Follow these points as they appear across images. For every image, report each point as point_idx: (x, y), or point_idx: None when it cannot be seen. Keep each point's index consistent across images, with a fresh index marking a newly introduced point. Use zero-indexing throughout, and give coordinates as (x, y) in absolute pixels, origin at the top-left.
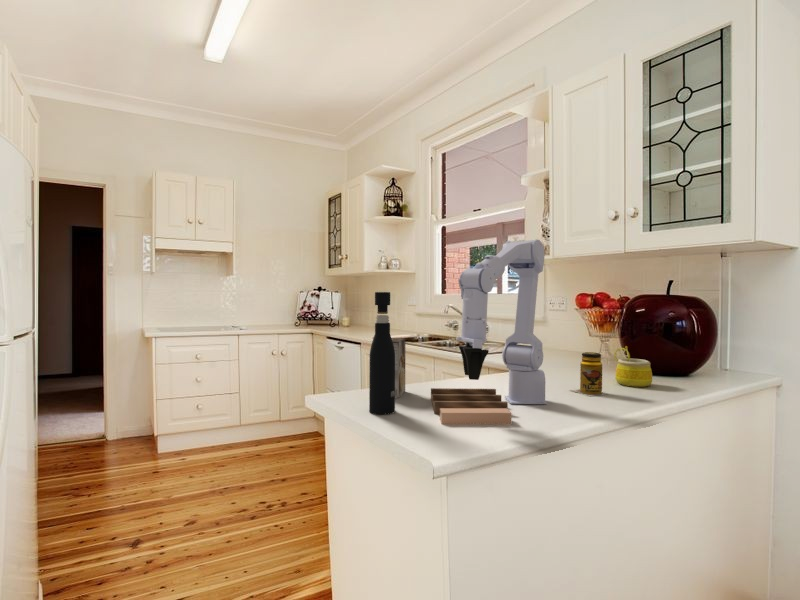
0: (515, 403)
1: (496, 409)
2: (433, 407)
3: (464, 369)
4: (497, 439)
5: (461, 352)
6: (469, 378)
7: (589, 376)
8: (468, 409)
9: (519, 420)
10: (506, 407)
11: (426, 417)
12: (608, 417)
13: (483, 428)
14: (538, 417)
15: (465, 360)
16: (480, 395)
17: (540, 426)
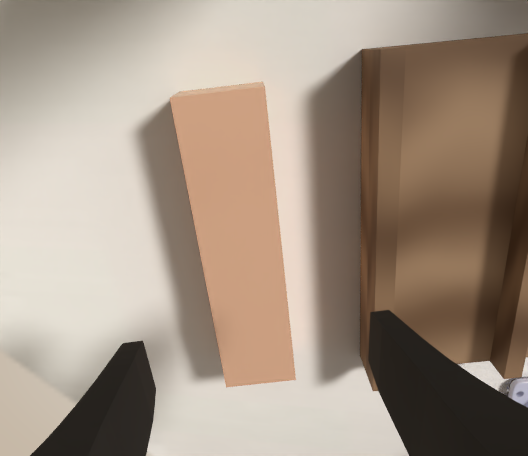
0: (509, 395)
1: (273, 342)
2: (450, 41)
3: (387, 333)
4: (26, 301)
5: (480, 441)
6: (120, 347)
7: None
8: (259, 233)
9: (282, 383)
10: (367, 371)
11: (293, 4)
12: None
13: (152, 264)
14: (326, 435)
15: (427, 399)
16: (519, 297)
17: (217, 428)
